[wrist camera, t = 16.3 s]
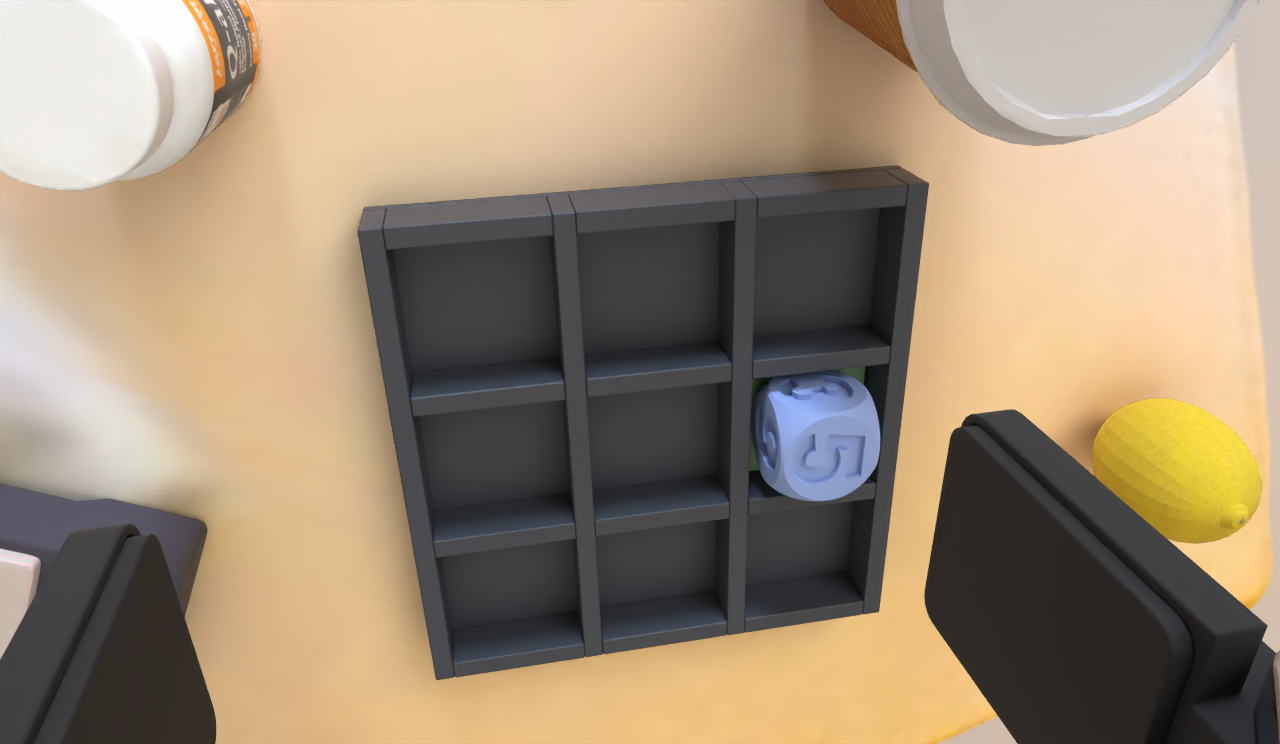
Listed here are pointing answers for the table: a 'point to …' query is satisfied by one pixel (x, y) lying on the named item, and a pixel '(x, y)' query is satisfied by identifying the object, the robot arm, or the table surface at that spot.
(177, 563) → the calculator
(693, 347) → the grid tray
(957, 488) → the robot arm
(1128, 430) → the lemon
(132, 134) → the pill bottle
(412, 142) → the table surface
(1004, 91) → the disposable coffee cup
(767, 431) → the decorative dice
